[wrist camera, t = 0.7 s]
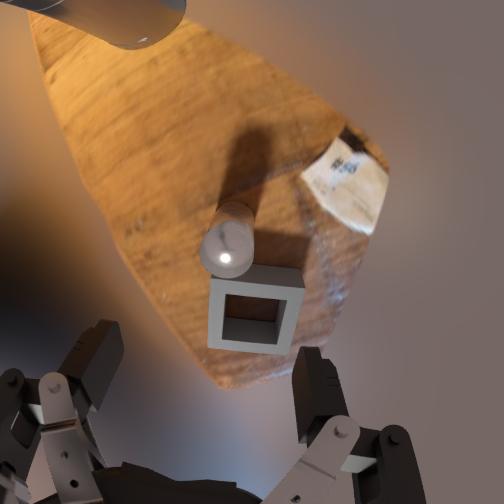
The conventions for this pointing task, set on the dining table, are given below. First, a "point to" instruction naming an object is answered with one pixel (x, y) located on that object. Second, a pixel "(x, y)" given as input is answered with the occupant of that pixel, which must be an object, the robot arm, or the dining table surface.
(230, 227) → the peg
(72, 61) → the dining table surface
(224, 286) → the box
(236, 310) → the dining table surface
